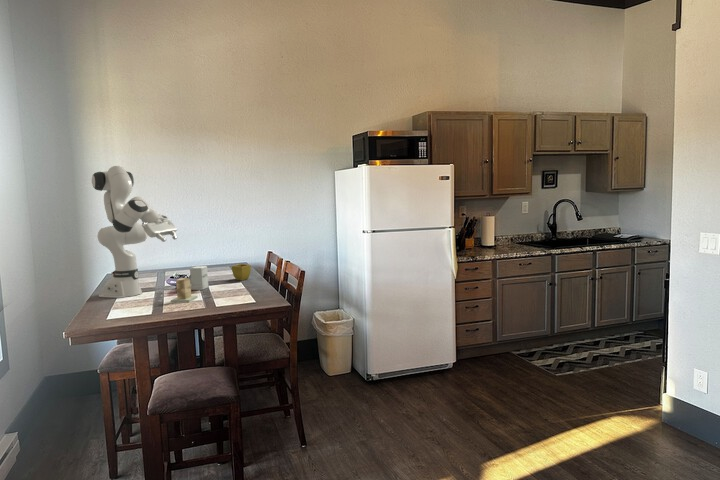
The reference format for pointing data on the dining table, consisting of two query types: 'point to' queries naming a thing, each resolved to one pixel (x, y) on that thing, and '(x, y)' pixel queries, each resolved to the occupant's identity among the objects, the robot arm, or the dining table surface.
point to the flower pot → (241, 271)
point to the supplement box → (199, 277)
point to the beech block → (183, 288)
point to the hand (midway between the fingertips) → (170, 239)
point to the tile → (184, 299)
